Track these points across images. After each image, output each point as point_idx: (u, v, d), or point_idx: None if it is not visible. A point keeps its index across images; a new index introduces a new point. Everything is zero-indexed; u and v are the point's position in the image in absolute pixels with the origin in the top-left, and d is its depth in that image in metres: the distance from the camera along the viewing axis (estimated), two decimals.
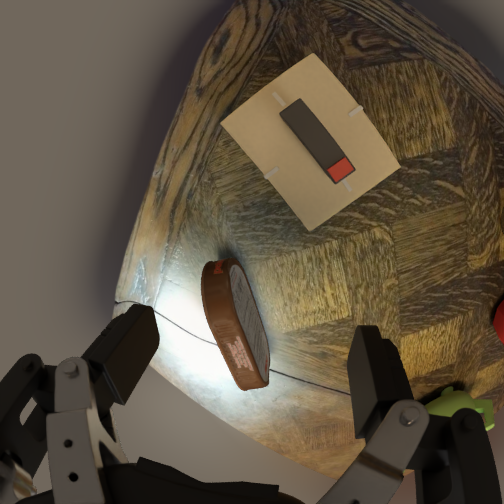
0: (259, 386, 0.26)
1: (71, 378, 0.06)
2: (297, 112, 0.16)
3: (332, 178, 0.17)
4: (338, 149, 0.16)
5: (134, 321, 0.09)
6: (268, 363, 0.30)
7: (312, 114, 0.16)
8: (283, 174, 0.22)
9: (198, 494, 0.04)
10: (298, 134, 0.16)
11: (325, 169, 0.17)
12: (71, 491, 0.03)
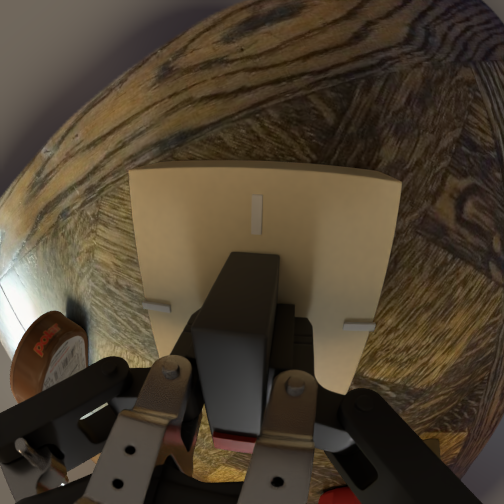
0: None
1: (175, 379, 0.07)
2: (233, 355, 0.06)
3: None
4: (256, 429, 0.07)
5: None
6: None
7: (261, 376, 0.06)
8: (172, 319, 0.12)
9: (198, 494, 0.04)
10: (201, 380, 0.07)
11: (212, 429, 0.08)
12: (107, 495, 0.03)
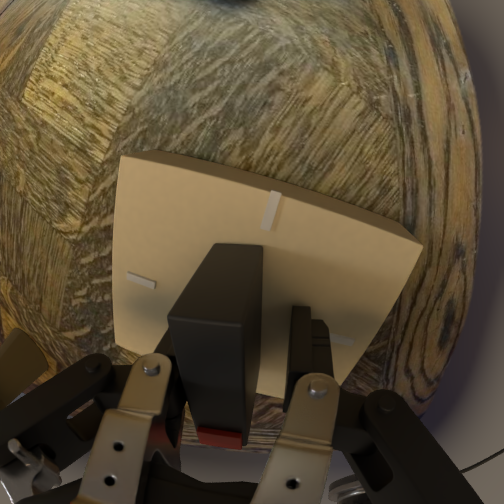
0: None
1: (155, 376, 0.07)
2: (210, 344, 0.06)
3: None
4: (239, 424, 0.07)
5: None
6: None
7: (239, 367, 0.06)
8: (246, 222, 0.10)
9: (198, 494, 0.04)
10: (181, 372, 0.07)
11: (196, 424, 0.08)
12: (100, 493, 0.03)
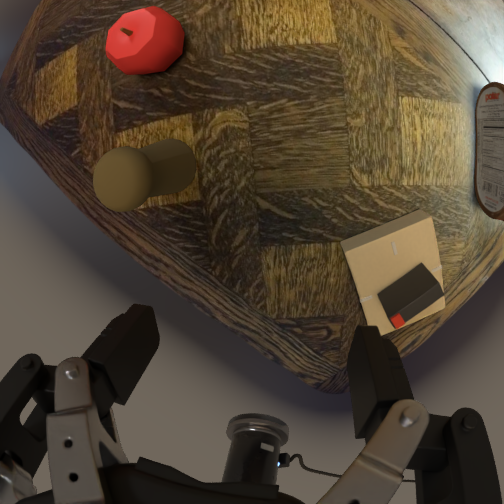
0: None
1: (71, 378, 0.06)
2: (436, 293, 0.21)
3: (392, 316, 0.23)
4: (409, 318, 0.23)
5: (134, 321, 0.09)
6: (486, 91, 0.16)
7: (433, 302, 0.22)
8: (430, 265, 0.25)
9: (198, 494, 0.04)
10: (424, 294, 0.21)
11: (398, 311, 0.22)
12: (72, 492, 0.03)
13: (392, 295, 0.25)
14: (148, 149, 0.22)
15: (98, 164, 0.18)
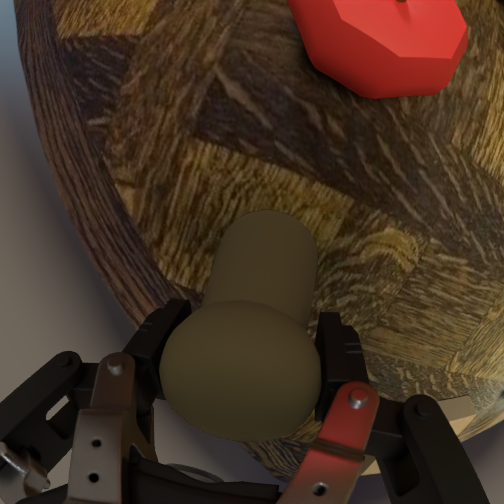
0: None
1: (118, 374, 0.07)
2: None
3: None
4: None
5: (175, 315, 0.10)
6: None
7: None
8: None
9: (198, 494, 0.04)
10: None
11: None
12: (88, 491, 0.03)
13: None
14: (295, 289, 0.10)
15: (204, 365, 0.06)
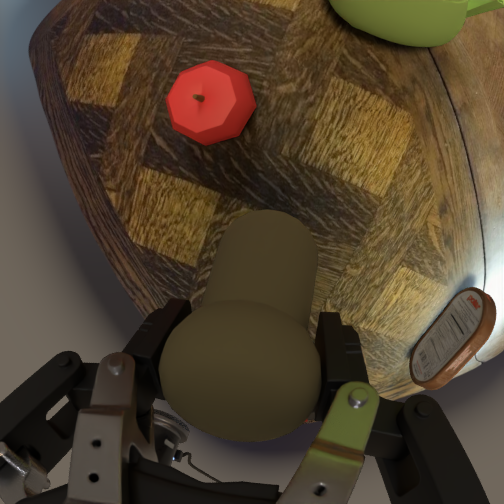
0: (484, 324, 0.21)
1: (118, 374, 0.07)
2: None
3: None
4: (312, 419, 0.30)
5: (175, 315, 0.10)
6: (473, 293, 0.25)
7: None
8: None
9: (198, 494, 0.04)
10: None
11: None
12: (88, 491, 0.03)
13: None
14: (295, 288, 0.10)
15: (204, 365, 0.06)
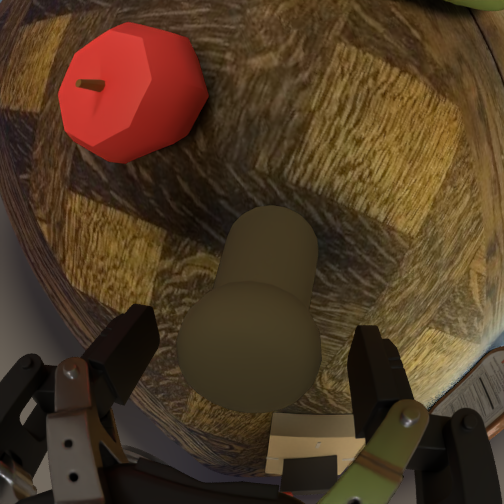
0: None
1: (71, 378, 0.06)
2: None
3: (284, 492, 0.20)
4: (298, 494, 0.20)
5: (134, 321, 0.09)
6: None
7: (324, 493, 0.20)
8: (343, 457, 0.23)
9: (198, 494, 0.04)
10: (319, 490, 0.19)
11: (291, 491, 0.20)
12: (72, 492, 0.03)
13: (295, 471, 0.22)
14: (297, 274, 0.12)
15: (220, 334, 0.08)
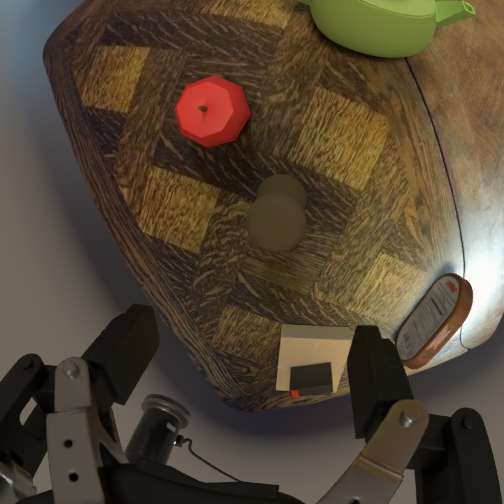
0: (461, 305, 0.26)
1: (71, 378, 0.06)
2: (328, 389, 0.34)
3: (292, 390, 0.34)
4: (303, 395, 0.35)
5: (134, 321, 0.09)
6: (451, 278, 0.29)
7: (323, 392, 0.34)
8: (336, 366, 0.37)
9: (198, 494, 0.04)
10: (319, 386, 0.33)
11: (298, 389, 0.34)
12: (71, 491, 0.03)
13: (299, 374, 0.36)
14: (295, 197, 0.26)
15: (268, 204, 0.22)
